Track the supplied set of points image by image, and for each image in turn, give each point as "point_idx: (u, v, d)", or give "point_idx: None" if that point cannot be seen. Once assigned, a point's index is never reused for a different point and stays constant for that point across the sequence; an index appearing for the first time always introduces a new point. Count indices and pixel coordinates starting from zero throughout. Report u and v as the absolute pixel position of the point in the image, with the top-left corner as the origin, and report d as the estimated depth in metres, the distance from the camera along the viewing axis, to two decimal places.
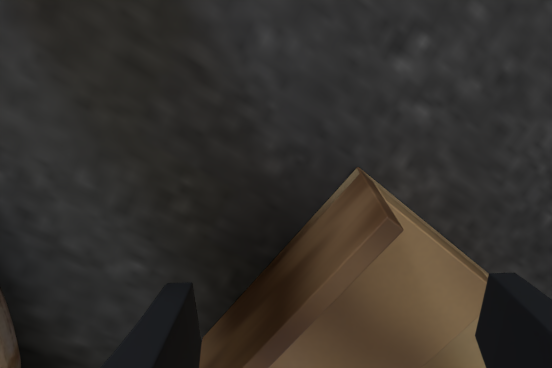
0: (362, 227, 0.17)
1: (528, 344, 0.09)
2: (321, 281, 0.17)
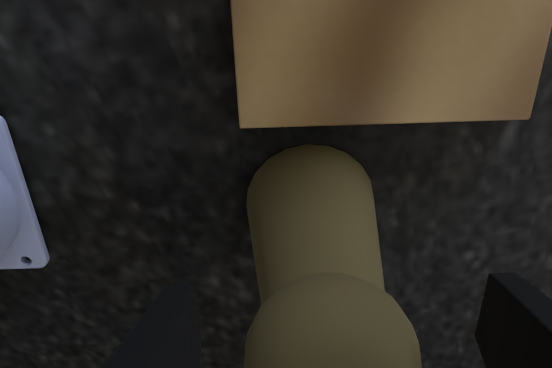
0: None
1: (528, 343, 0.09)
2: None
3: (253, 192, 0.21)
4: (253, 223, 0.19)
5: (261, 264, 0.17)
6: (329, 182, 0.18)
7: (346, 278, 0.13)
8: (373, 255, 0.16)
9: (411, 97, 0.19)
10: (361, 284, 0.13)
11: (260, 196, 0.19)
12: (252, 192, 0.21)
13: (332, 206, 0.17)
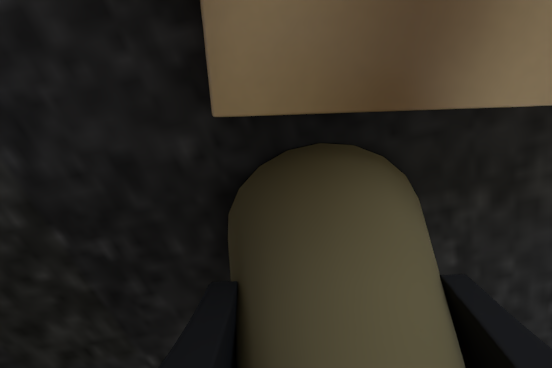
0: None
1: (471, 345, 0.09)
2: None
3: (236, 219, 0.13)
4: (234, 274, 0.12)
5: (243, 363, 0.09)
6: (361, 207, 0.11)
7: None
8: (453, 351, 0.09)
9: (500, 63, 0.11)
10: None
11: (246, 229, 0.12)
12: (235, 219, 0.13)
13: (371, 254, 0.09)
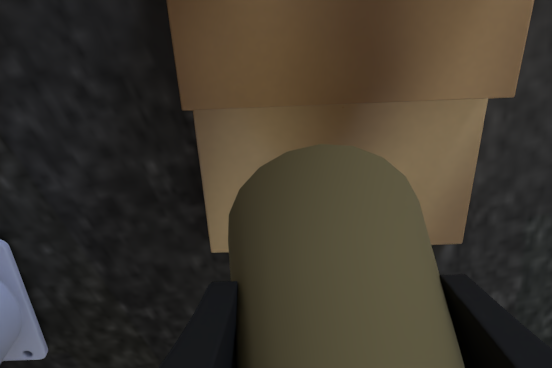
0: None
1: (470, 345, 0.09)
2: None
3: (236, 220, 0.13)
4: (234, 275, 0.12)
5: (243, 364, 0.09)
6: (361, 208, 0.11)
7: None
8: (453, 352, 0.09)
9: None
10: None
11: (246, 230, 0.12)
12: (235, 220, 0.13)
13: (371, 255, 0.09)
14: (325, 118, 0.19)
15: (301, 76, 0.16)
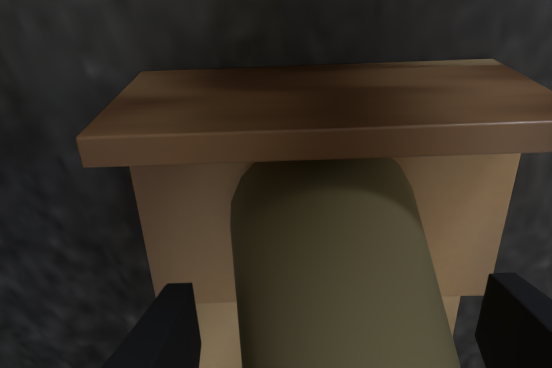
0: (539, 107, 0.11)
1: (528, 344, 0.09)
2: (453, 120, 0.11)
3: (238, 206, 0.14)
4: (237, 256, 0.12)
5: (246, 334, 0.10)
6: (356, 192, 0.11)
7: None
8: (441, 321, 0.09)
9: None
10: None
11: (248, 214, 0.12)
12: (237, 206, 0.14)
13: (366, 233, 0.10)
14: None
15: None
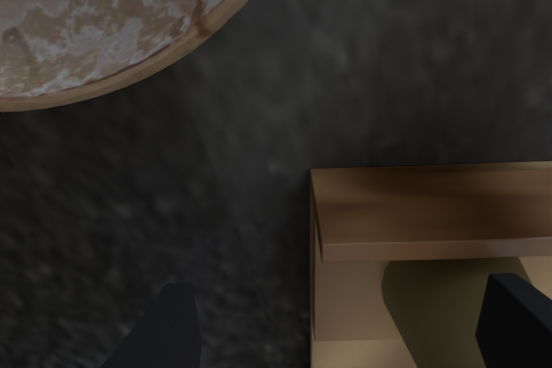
0: None
1: (528, 344, 0.09)
2: None
3: (399, 277, 0.19)
4: (411, 317, 0.18)
5: None
6: None
7: None
8: None
9: None
10: None
11: (417, 287, 0.18)
12: (397, 276, 0.19)
13: None
14: None
15: None
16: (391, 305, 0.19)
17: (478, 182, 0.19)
